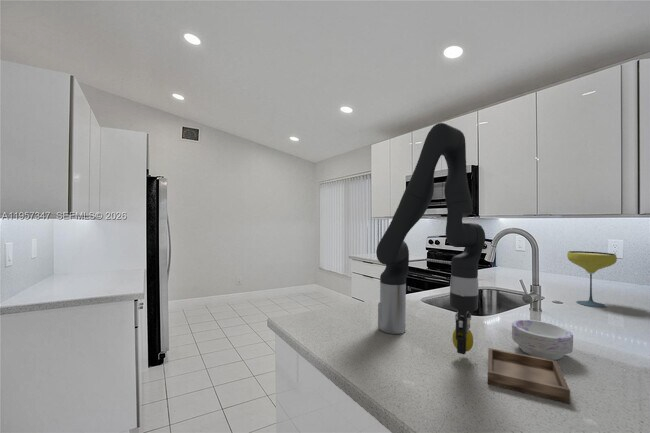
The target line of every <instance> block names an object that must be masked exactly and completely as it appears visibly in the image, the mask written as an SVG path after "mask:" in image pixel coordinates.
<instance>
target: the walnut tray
mask: <svg viewBox="0 0 650 433" xmlns="http://www.w3.org/2000/svg"><path fill="white" fill-rule="evenodd" d="M487 351H488V352H487V385H490V386H494V387H500V388H502V389H507V390H511V391H514V392H515V391H516V392H519V393H523V394H527V395H530V396H536V397H538V398H539V397H540V398H543V399H544V398H545V399H548V400H553V401H556V402H561V403H565V404H568V405H571V402H570V401H571V393H570V392H571V389H570V387H569V385H568V383H567V380H566V379H565V376H564V374H563V372H562V370H561V367H560V365H559V364H558V361H557V360H549V359H544V358H539V357H534V356H531V355H529V354H523V353H517V352H512V351H506V350H500V349H497V348H493V347H492V348H491V347H490V348H489V347H488V348H487Z"/></svg>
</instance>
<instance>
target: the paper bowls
mask: <svg viewBox="0 0 650 433" xmlns="http://www.w3.org/2000/svg"><path fill="white" fill-rule="evenodd" d="M511 338H512V340H513V342H514V343H516V344H517V345H518V346H519V347H520V349H521V351H522V352H524V353H525V354H526V355H528V356H534V357H539V358H544V359H549V360H555V361H557V360H560V359H562V358H563V357H564V356H565V355H567V354H568V355H570V354H571V353H573V351H574V349H573V348H574V335H573V332H571V331H570V330H568V329H567V328H565V327H563V326H560V325H557V324H553V323H550V322H546V321H541V320H535V319H518V320H514V321H513V322H512V323H511Z"/></svg>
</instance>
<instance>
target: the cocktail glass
mask: <svg viewBox="0 0 650 433" xmlns="http://www.w3.org/2000/svg"><path fill="white" fill-rule="evenodd" d="M566 257H567V259H568V261H570V262H571V263H573V264H574V265H576V266H578V267H580V268H582V269H584V270H585V271H586V272H587V273H588V274H589V297H588V300H576V303H577V304H578V305H581V306H585V307H592V308H606V306H607V305H605V304H603V303H601V302H596V301H594V299H593V292H592V291H593V282H592V281H593V278H592V276H593V274H595V273H596V272H598V270H599V271H600V270H601V269H605V268H608V267H611V266H613V265H614V264H616V263H617V259H618V258H617V254H615V253H611V252H602V251H601V252H600V251H586V250H585V251H582V250H581V251H580V250H572V251H571V250H569V251H567V254H566Z"/></svg>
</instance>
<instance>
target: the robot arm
mask: <svg viewBox="0 0 650 433" xmlns="http://www.w3.org/2000/svg"><path fill="white" fill-rule="evenodd" d="M466 143H467V142H466V136H465V134H464V132H463V131H461V129H458V128H456V127H454V126H451V124H448V123H445V122H438V123H437V124H434V125H433V126H432V127H431V128H430V130H429V132H428V133H427V135H426V137H425V140H424V142H423V144H422V149H421V152H420V154H419V156H418V161H417V163H416V165H415V168H414V170H413V172H412V175H411V177H410V179H409V181H408V184H407V186H406V188H405V190H404V191H403V194H402V196H401V199H400V200H399V204H398V205H397V208H396V210H395V212H394V214H393V216H392V218H391V221H390V223H389V225H388V226H387V229H386V230H385V232H384V233H383V235H382V237H381V239H380V240H379V242H378V244H377V247H376V249H375V250H376V251H375V252H376V259H377V260H378V261H379V263H381V264H382V265H385V268H384V270H383V271H382V272H381V274H380V276H379V302H378V304H377V330H379V331H382V332H384V333H386V334H392V335H399V334H404V333H405V332H406V327H407V326H406V325H407V323H406V321H407V320H406V318H407V317H406V316H407V315H406V313H407V312H406V311H407V310H406V308H407V306H406V305H407V302H406V301H407V299H406V298H407V296H406V295H407V294H406V293H407V278H408V276H409V265H410V263H409V262H410V251H409V247H408V244H407V242H406V241H405V238H406V237H407V235H408V233H409V232H410V231H411V230H412V228H414V226H415V225H416V224H417V223H418V222H419V221H420V219H422V218H423V216H424V215H425V213H426V212H427V210H428V207H429V206H430V204H431V202H432V199H433V197H434V194H435V193H434V191H435V172H436V171H435V170H436V167H437V165H438V163H439V160H440V159H441V156H443V158H444V160H445V163H446V166H447V176H446V179H445V184H444V199H445V205H446V209H447V211H446V212H447V215H446V225H445V238H446V242H448V244H449V245H450V246H452V247H454V248H464V249H463V252H462V253H460V254H457V255H454V256H453V257H452V258H451V273H450V274H451V275H450V282H449V307H451V308H453V309H455V310H457V312H456V313H455V314H454V316H455V317H454V320H455V328H454V330H455V329H456V340H457V348H456V353H458V354H460V355H466V354H467V352H466V340H467V339H466V338H467V333H469V330H470V328H471V320H472V314H471V313H470V312H475V311H477V310H478V309H479V277H478V276H479V274H478V273H479V262H480V259H481V255H482V252H483V249H484V246H485V242H486V232H485V230H484V228H483V226H482V225H481V224H479V223H475V222H469V223H467V222H466V223H465V222H463V218H465V217H468V216H469V215H471V214H472V213H473V212H474V209H473V208H474V206H473V202H472V197H471V192H470V187H469V182H468V172H467V153H466V152H467V146H466V145H467V144H466ZM466 328H467V329H466ZM459 333H463V334H464V336H459Z"/></svg>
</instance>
